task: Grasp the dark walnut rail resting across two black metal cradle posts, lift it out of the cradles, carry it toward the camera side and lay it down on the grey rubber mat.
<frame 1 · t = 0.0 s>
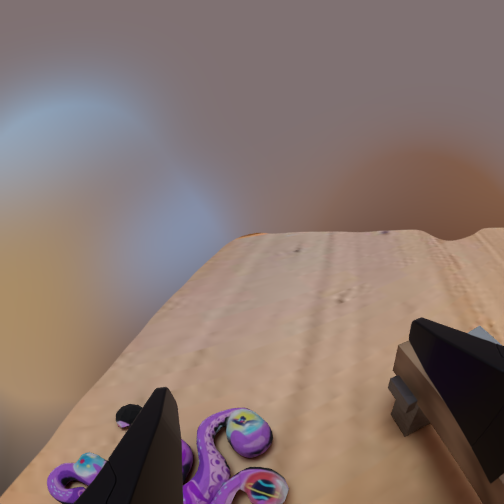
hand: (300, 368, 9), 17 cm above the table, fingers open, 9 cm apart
decorative sculpture: (164, 475, 19), on the table
rail: (487, 473, 8), point 5 cm above the table, touching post, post
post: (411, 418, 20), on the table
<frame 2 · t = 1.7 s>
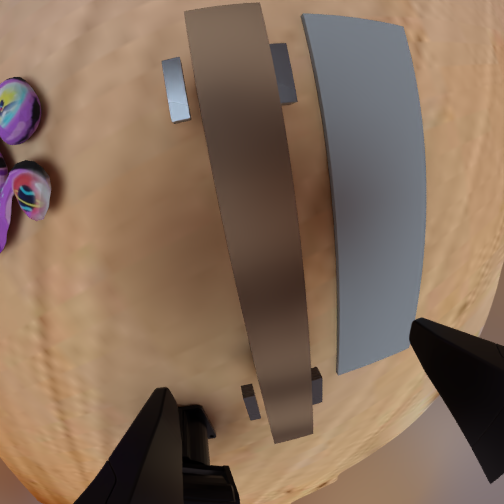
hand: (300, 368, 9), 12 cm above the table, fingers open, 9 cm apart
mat: (383, 214, 21), on the table
rail: (261, 273, 16), point 5 cm above the table, touching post, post
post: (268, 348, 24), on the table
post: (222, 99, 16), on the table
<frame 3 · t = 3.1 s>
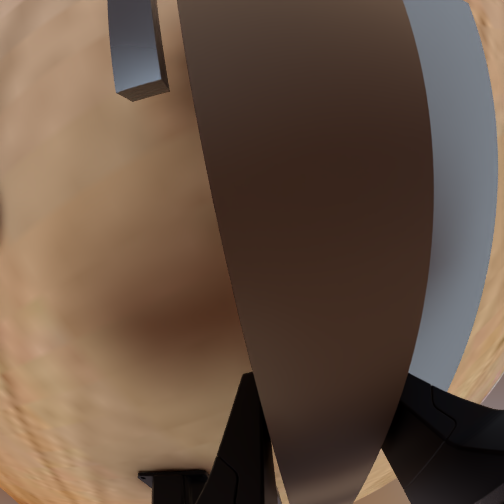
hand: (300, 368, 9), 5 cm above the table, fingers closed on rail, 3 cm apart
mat: (449, 249, 14), on the table
rail: (304, 377, 8), point 5 cm above the table, touching gripper, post, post
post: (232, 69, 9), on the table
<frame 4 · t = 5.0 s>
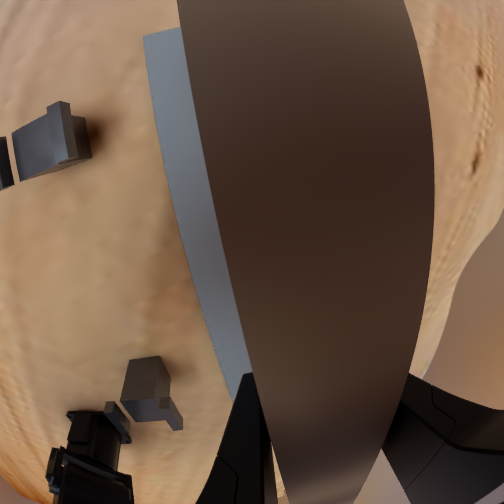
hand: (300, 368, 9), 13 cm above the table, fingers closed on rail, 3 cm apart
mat: (249, 242, 20), on the table
rail: (304, 377, 8), point 13 cm above the table, touching gripper
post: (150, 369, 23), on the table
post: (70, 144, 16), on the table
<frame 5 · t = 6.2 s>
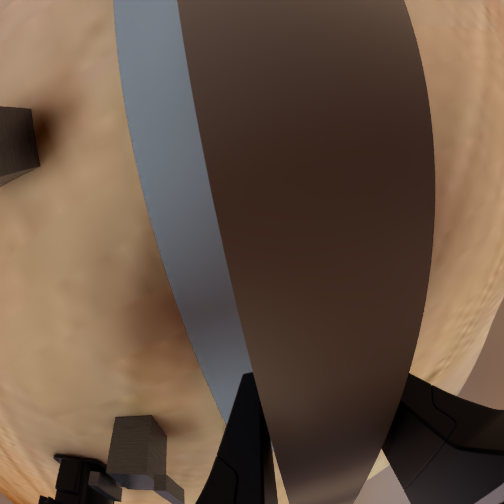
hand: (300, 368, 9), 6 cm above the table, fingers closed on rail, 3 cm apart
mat: (268, 286, 14), on the table
rail: (304, 377, 8), point 6 cm above the table, touching gripper
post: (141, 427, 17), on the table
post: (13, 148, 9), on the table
when the fingers open (2 cm above the table, at t = 7.2 s): rail drops 2 cm, resting on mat.
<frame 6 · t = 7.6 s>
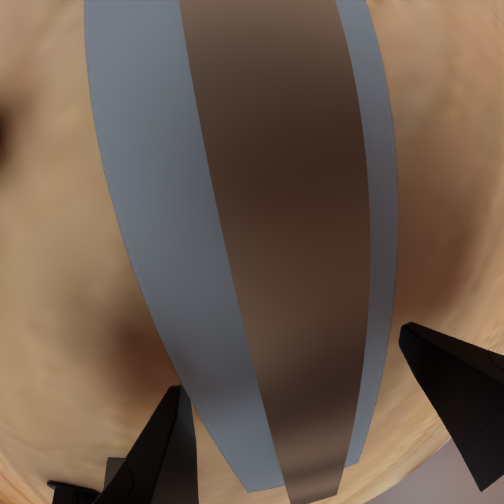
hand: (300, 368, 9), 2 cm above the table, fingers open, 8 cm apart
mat: (286, 332, 11), on the table
rail: (289, 340, 10), resting on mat
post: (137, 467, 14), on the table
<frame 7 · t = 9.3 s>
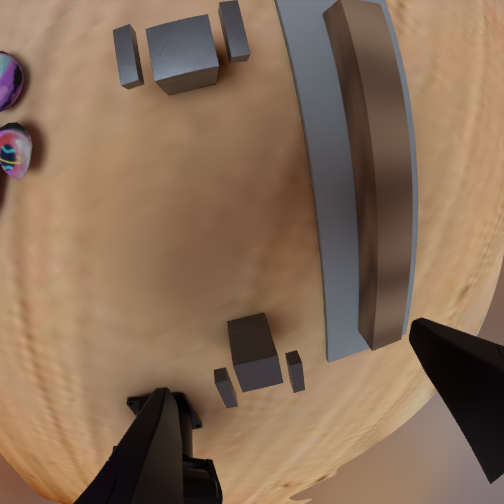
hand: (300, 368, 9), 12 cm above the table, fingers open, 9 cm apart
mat: (368, 184, 19), on the table
rail: (372, 185, 19), resting on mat
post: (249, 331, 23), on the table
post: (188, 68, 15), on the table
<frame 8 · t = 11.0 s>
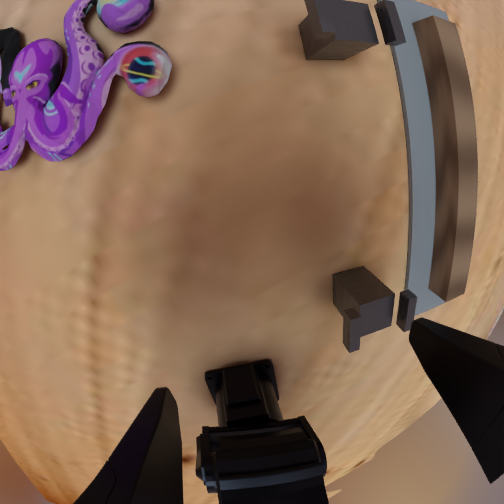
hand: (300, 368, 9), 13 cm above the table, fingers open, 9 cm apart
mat: (441, 159, 21), on the table
decorative sculpture: (38, 89, 14), on the table
rail: (445, 159, 20), resting on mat
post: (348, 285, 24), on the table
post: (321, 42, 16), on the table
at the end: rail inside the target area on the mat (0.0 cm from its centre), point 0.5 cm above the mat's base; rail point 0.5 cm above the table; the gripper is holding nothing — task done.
